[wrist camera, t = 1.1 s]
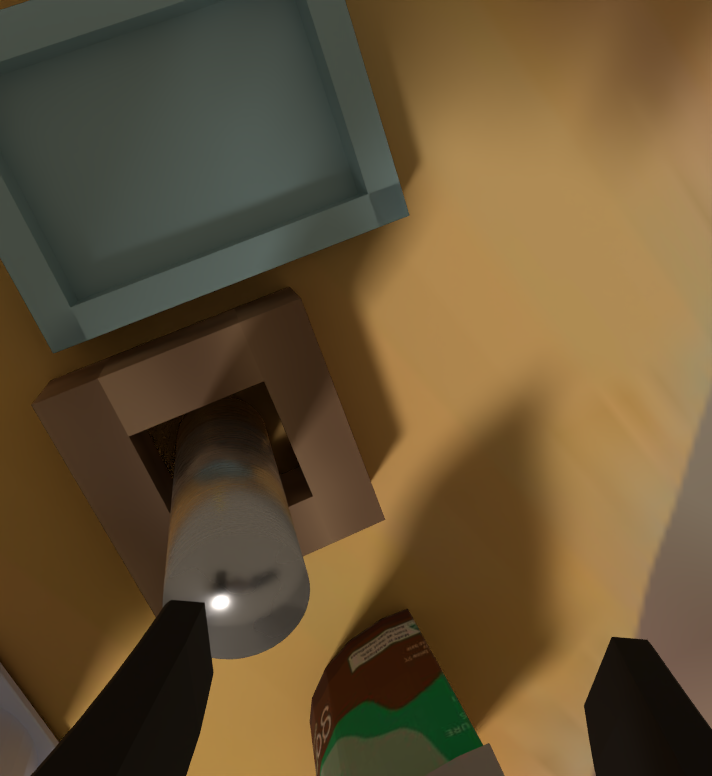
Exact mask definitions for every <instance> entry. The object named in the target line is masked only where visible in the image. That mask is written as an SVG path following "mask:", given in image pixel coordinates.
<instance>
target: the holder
mask: <svg viewBox="0 0 712 776" xmlns="http://www.w3.org/2000/svg"><path fill="white" fill-rule="evenodd" d="M263 381H264V382H265V384H266V387H267V389H268V392H269V394H270V396H271V399H272V401H273V403H274V406H275V408H276V410H277V413H278V415H279V417H280V420H281V422H282V424H283V427H284V429H285V431H286V434H287V436H288V438H289V441H290V443H291V445H292V448H293V450H294V452H295V455H296V457H297V460H298V462H299V464H300V467H298V468H296V469H293V470H291V471H289V472H286V473H284V474H282V475H280V479H281V482H282V486H283V489H284V493H285V496H286V500H287V503H288V507H289V510H290V514H291V517H292V521H293V524H294V528H295V531H296V535H297V538H298V542H299V545H300V549H301V553H302V556H305V555H307V554H309V553H312V552H314V551H316V550H318V549H320V548H323V547H325V546H327V545H329V544H332V543H334V542H336V541H338V540H341V539H343V538H345V537H347V536H350V535H352V534H354V533H356V532H359V531H361V530H363V529H365V528H368V527H370V526H372V525H374V524H376V523H379V522H381V521H383V520H385V518H384V515H383V513H382V510H381V507H380V505H379V502H378V499H377V497H376V494H375V492H374V489H373V486H372V484H371V481H370V479H369V476H368V473H367V471H366V468H365V465H364V463H363V460H362V458H361V455H360V452H359V450H358V447H357V444H356V442H355V439H354V437H353V434H352V431H351V429H350V426H349V424H348V421H347V418H346V416H345V413H344V410H343V408H342V405H341V403H340V400H339V397H338V395H337V392H336V389H335V387H334V384H333V382H332V379H331V376H330V374H329V371H328V369H327V366H326V363H325V361H324V358H323V355H322V353H321V350H320V348H319V345H318V342H317V340H316V337H315V335H314V332H313V329H312V327H311V324H310V321H309V319H308V316H307V314H306V311H305V308H304V306H303V303H302V300H301V298H300V297H299V296H298V295H297V294H296V293H295V292H294V291H293V290H292V289H291V288H290V287H288V288H285V289H283V290H280V291H277V292H275V293H272V294H270V295H267V296H265V297H262V298H260V299H257V300H255V301H252V302H249V303H247V304H244V305H242V306H239V307H237V308H234V309H232V310H229V311H227V312H224V313H221V314H219V315H216V316H214V317H211V318H209V319H206V320H204V321H201V322H199V323H196V324H193V325H191V326H188V327H186V328H183V329H181V330H178V331H176V332H173V333H171V334H168V335H165V336H163V337H160V338H158V339H155V340H153V341H150V342H148V343H145V344H143V345H140V346H137V347H135V348H132V349H130V350H127V351H125V352H122V353H120V354H117V355H115V356H112V357H109V358H107V359H104V360H102V361H99V362H97V363H94V364H92V365H89V366H87V367H84V368H81V369H79V370H76V371H74V372H71V373H69V374H66V375H64V376H61V377H59V378H56V379H53V380H51V381H50V382H49V383H48V385H47V386H46V387H45V388H44V390H43V391H42V392H41V393H40V395H39V396H38V397H37V398H36V400H35V401H34V402H33V403H32V407H33V409H34V411H35V412H36V414H37V416H38V417H39V419H40V421H41V422H42V424H43V426H44V428H45V429H46V431H47V433H48V434H49V436H50V438H51V439H52V441H53V443H54V445H55V446H56V448H57V450H58V451H59V453H60V455H61V456H62V458H63V460H64V462H65V463H66V465H67V467H68V468H69V470H70V472H71V473H72V475H73V477H74V479H75V480H76V482H77V484H78V485H79V487H80V489H81V490H82V492H83V494H84V496H85V497H86V499H87V501H88V502H89V504H90V506H91V508H92V509H93V511H94V513H95V514H96V516H97V518H98V519H99V521H100V523H101V525H102V526H103V528H104V530H105V531H106V533H107V535H108V536H109V538H110V540H111V542H112V543H113V545H114V547H115V548H116V550H117V552H118V553H119V555H120V557H121V559H122V560H123V562H124V564H125V565H126V567H127V569H128V570H129V572H130V574H131V576H132V577H133V579H134V581H135V582H136V584H137V586H138V587H139V589H140V591H141V593H142V594H143V596H144V598H145V599H146V601H147V603H148V605H149V606H150V608H151V610H152V611H153V613H154V615H155V616H156V617H157V616H158V614H159V613H160V611H161V610H162V608H163V590H164V579H165V568H166V557H167V546H168V535H169V524H170V513H171V501H172V490H173V479H172V477H171V475H170V473H169V471H168V470H167V468H166V466H165V464H164V462H163V460H162V458H161V456H160V454H159V452H158V450H157V448H156V446H155V445H154V443H153V441H152V439H151V437H150V435H149V433H148V431H147V429H148V428H151V427H153V426H156V425H158V424H161V423H163V422H166V421H168V420H170V419H173V418H175V417H178V416H180V415H183V414H185V413H188V412H190V411H192V410H195V409H197V408H200V407H202V406H205V405H207V404H210V403H212V402H214V401H217V400H219V399H222V398H224V397H227V396H229V395H232V394H234V393H236V392H239V391H241V390H244V389H246V388H249V387H251V386H254V385H256V384H258V383H261V382H263Z"/></svg>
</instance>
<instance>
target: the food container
mask: <svg viewBox="0 0 712 776" xmlns="http://www.w3.org/2000/svg"><path fill="white" fill-rule="evenodd" d="M310 727H311V735H312V743H313V752H314V760H315V768H316V776H504V774H503V772H502V769H501V767H500V765H499V763H498V761H497V759H496V757H495V754H494V752H493V750H492V748H491V746H490V744H489V743H488V744H486V745H483V744H482V742H481V740H480V739H479V737H478V735H477V733H476V731H475V730H474V728H473V726H472V724H471V722H470V721H469V719H468V717H467V715H466V713H465V711H464V710H463V708H462V706H461V704H460V702H459V701H458V699H457V697H456V695H455V693H454V692H453V690H452V688H451V686H450V684H449V683H448V681H447V679H446V677H445V675H444V673H443V672H442V670H441V668H440V666H439V664H438V663H437V661H436V659H435V657H434V655H433V654H432V652H431V650H430V648H429V646H428V645H427V643H426V641H425V639H424V637H423V636H422V634H421V632H420V630H419V628H418V626H417V625H416V623H415V621H414V619H413V617H412V616H411V614H410V612H409V610H408V609H406V610H403V611H401V612H398V613H396V614H393V615H391V616H388V617H386V618H383V619H381V620H379V621H378V622H376V623H375V624H373V625H372V626H371V627H369V628H368V629H366V630H365V631H363V632H362V633H360V634H359V635H357V636H356V637H354V638H353V639H351V640H350V641H349V642H348V643H347V644H346V645H345V647H344V648H343V649H342V650H341V651H340V652H339V653H338V655H337V656H336V657H335V658H334V659H333V660H332V661H331V663H330V664H329V665H328V666H327V667H326V668H325V671H324V673H323V675H322V677H321V679H320V682H319V684H318V686H317V688H316V690H315V693H314V695H313V697H312V704H311V714H310Z"/></svg>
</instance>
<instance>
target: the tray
mask: <svg viewBox="0 0 712 776" xmlns="http://www.w3.org/2000/svg"><path fill="white" fill-rule="evenodd" d="M407 216H409V212H408V209H407V206H406V202H405V199H404V196H403V192H402V189H401V186H400V182H399V179H398V176H397V172H396V169H395V166H394V162H393V159H392V156H391V152H390V149H389V146H388V142H387V139H386V136H385V132H384V129H383V125H382V122H381V119H380V115H379V112H378V109H377V105H376V102H375V99H374V95H373V92H372V89H371V85H370V82H369V79H368V75H367V72H366V69H365V65H364V62H363V59H362V55H361V52H360V49H359V45H358V42H357V39H356V35H355V32H354V29H353V25H352V22H351V19H350V15H349V12H348V9H347V5H346V2H345V0H30V1H27V2H23V3H20V4H17V5H14V6H11V7H8V8H5V9H2V10H0V258H1V260H2V262H3V264H4V266H5V267H6V269H7V271H8V273H9V275H10V276H11V278H12V280H13V282H14V284H15V285H16V287H17V289H18V291H19V293H20V294H21V296H22V298H23V300H24V302H25V303H26V305H27V307H28V309H29V311H30V312H31V314H32V316H33V318H34V320H35V321H36V323H37V325H38V327H39V329H40V330H41V332H42V334H43V336H44V338H45V340H46V341H47V343H48V345H49V347H50V349H51V350H52V352H53V353H56V352H59V351H61V350H64V349H66V348H69V347H71V346H74V345H77V344H79V343H82V342H84V341H87V340H89V339H92V338H95V337H97V336H100V335H102V334H105V333H107V332H110V331H113V330H115V329H118V328H120V327H123V326H126V325H128V324H131V323H133V322H136V321H138V320H141V319H144V318H146V317H149V316H151V315H154V314H156V313H159V312H162V311H164V310H167V309H169V308H172V307H175V306H177V305H180V304H182V303H185V302H187V301H190V300H193V299H195V298H198V297H200V296H203V295H205V294H208V293H211V292H213V291H216V290H218V289H221V288H223V287H226V286H229V285H231V284H234V283H236V282H239V281H242V280H244V279H247V278H249V277H252V276H254V275H257V274H260V273H262V272H265V271H267V270H270V269H272V268H275V267H278V266H280V265H283V264H285V263H288V262H291V261H293V260H296V259H298V258H301V257H303V256H306V255H309V254H311V253H314V252H316V251H319V250H321V249H324V248H327V247H329V246H332V245H334V244H337V243H340V242H342V241H345V240H347V239H350V238H352V237H355V236H358V235H360V234H363V233H365V232H368V231H370V230H373V229H376V228H378V227H381V226H383V225H386V224H388V223H391V222H394V221H396V220H399V219H401V218H404V217H407Z"/></svg>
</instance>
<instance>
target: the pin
mask: <svg viewBox="0 0 712 776" xmlns="http://www.w3.org/2000/svg"><path fill="white" fill-rule="evenodd" d="M309 595H310V583H309V578H308V574H307V570H306V567H305V563H304V560H303V556H302V553H301V549H300V545H299V542H298V538H297V535H296V531H295V528H294V524H293V521H292V517H291V514H290V510H289V507H288V503H287V500H286V496H285V493H284V489H283V486H282V482H281V479H280V475H279V472H278V468H277V465H276V461H275V458H274V454H273V451H272V447H271V444H270V440H269V437H268V433H267V430H266V426H265V424H264V421H263V419H262V417H261V416H260V414H259V413H258V412H257V411H256V410H255V409H254V408H253V407H252V406H250V405H249V404H247V403H246V402H243V401H241V400H238V399H235V398H230V397H224V398H222V399H219V400H217V401H214V402H212V403H210V404H207V405H205V406H202V407H200V408H197V409H195V410H192V411H190V412H188V413H187V414H186V416H185V417H184V418H183V420H182V422H181V424H180V427H179V430H178V435H177V446H176V457H175V468H174V479H173V490H172V501H171V513H170V524H169V535H168V546H167V557H166V568H165V579H164V590H163V607H164V605H165V604H166V603H167V602H169V601H170V600H181V601H193V602H204V603H205V609H206V617H207V625H208V633H209V641H210V649H211V657H212V658H218V659H239V658H245V657H249V656H253V655H256V654H259V653H262V652H264V651H266V650H268V649H270V648H272V647H274V646H275V645H277V644H278V643H280V642H281V641H283V640H284V639H285V638H286V637H287V636H288V635H289V634H290V633H291V632H292V631H293V630H294V629H295V628H296V626H297V625H298V624H299V622H300V621H301V619H302V617H303V615H304V613H305V611H306V608H307V605H308V601H309Z"/></svg>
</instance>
